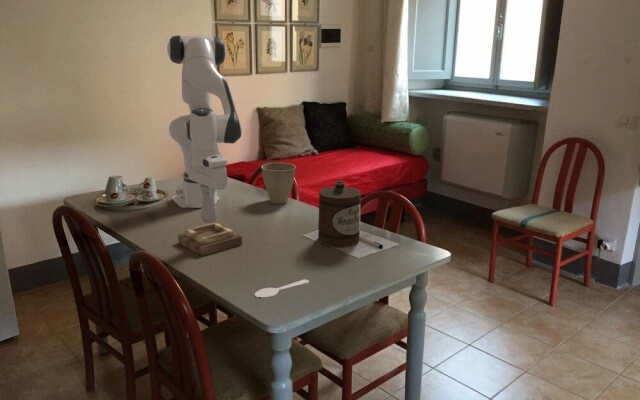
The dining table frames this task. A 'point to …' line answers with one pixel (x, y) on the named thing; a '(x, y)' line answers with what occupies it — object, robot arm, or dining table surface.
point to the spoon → (277, 289)
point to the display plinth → (209, 238)
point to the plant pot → (278, 180)
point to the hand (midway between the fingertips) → (208, 197)
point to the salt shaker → (208, 207)
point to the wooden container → (339, 215)
